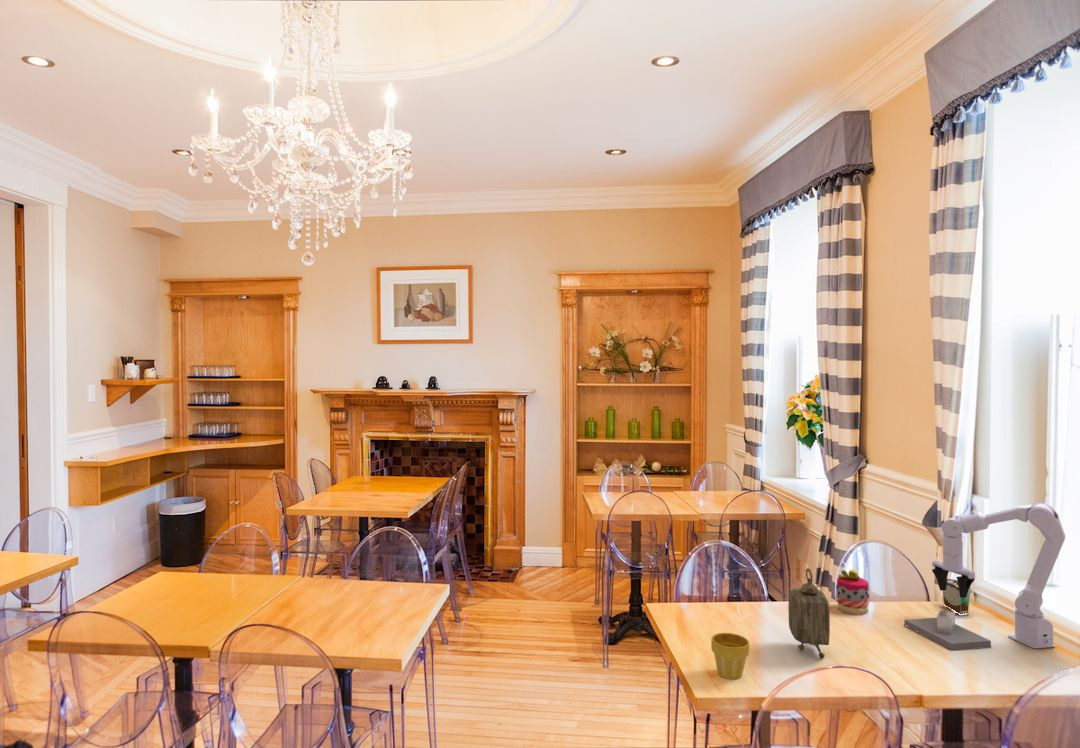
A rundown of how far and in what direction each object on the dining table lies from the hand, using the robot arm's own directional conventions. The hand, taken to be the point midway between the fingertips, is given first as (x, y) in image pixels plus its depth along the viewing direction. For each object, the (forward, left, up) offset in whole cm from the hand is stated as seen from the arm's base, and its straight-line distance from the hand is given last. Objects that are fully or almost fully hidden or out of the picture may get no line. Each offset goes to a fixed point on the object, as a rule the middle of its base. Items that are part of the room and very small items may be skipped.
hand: (952, 593), depth 219 cm
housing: (-8, +10, -8) cm, 16 cm away
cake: (+18, +25, -11) cm, 33 cm away
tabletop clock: (-11, +61, -11) cm, 63 cm away
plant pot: (-22, +92, -11) cm, 96 cm away
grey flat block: (-8, +10, -10) cm, 17 cm away
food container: (+11, -13, -11) cm, 20 cm away
